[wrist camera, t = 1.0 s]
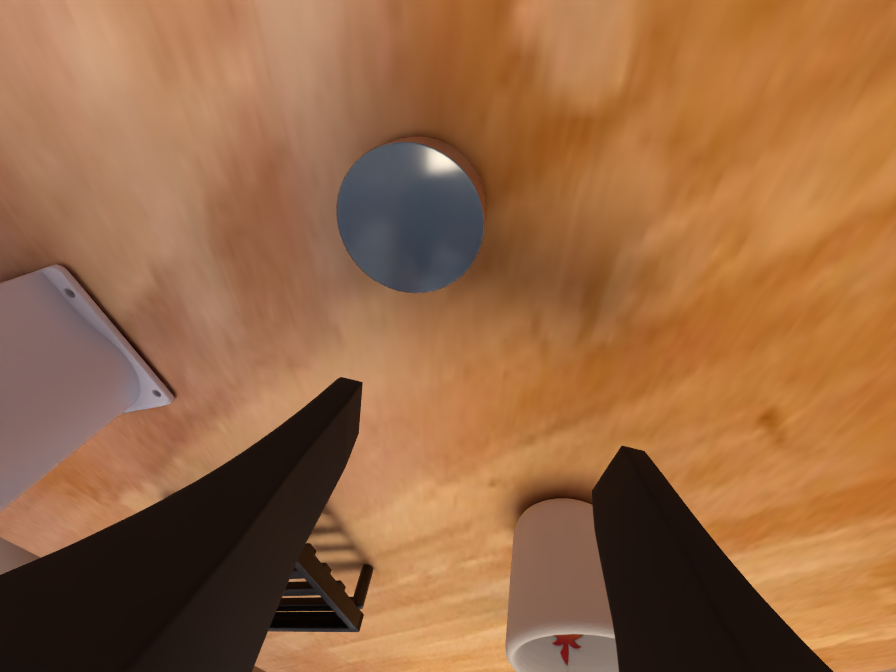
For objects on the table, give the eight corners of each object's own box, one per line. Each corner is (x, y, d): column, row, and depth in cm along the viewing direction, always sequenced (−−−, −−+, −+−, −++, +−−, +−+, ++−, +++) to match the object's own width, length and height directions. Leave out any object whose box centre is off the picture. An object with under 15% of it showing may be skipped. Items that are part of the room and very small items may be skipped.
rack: (163, 496, 30) (115, 552, 27) (311, 480, 27) (280, 542, 23) (245, 575, 36) (215, 631, 32) (375, 571, 33) (359, 632, 29)
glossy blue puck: (337, 160, 15) (310, 170, 13) (466, 115, 14) (460, 117, 12) (386, 281, 18) (370, 306, 16) (499, 253, 17) (499, 276, 14)
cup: (686, 500, 23) (762, 659, 17) (642, 565, 28) (688, 714, 21) (514, 474, 24) (520, 619, 17) (496, 542, 28) (495, 680, 22)
